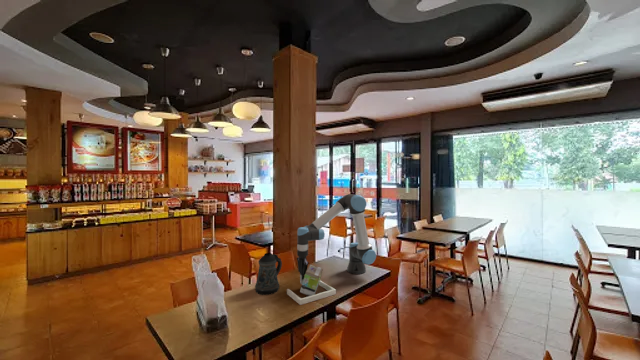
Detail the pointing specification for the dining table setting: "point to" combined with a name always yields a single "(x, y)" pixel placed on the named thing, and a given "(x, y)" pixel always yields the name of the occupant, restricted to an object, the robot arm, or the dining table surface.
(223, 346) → the dining table surface
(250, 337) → the dining table surface
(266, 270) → the beer stein
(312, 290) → the tea box
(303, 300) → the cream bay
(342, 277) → the dining table surface
